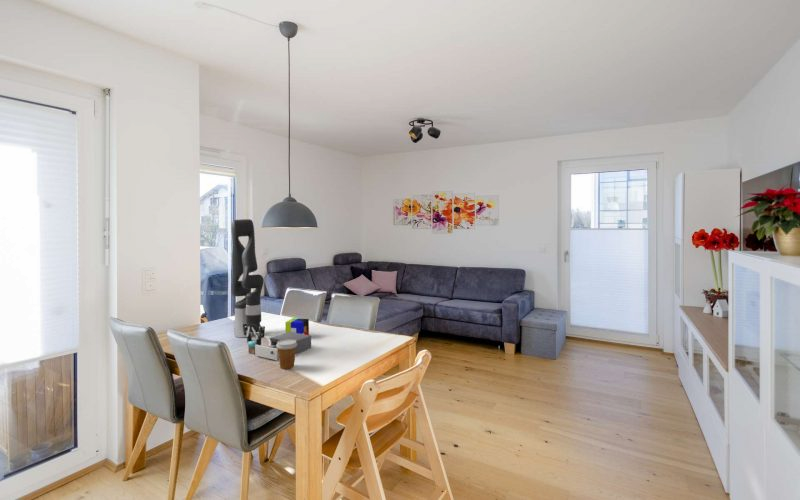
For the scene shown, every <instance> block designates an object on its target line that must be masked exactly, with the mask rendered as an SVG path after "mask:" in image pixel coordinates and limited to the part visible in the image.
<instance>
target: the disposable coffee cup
mask: <svg viewBox="0 0 800 500" xmlns="http://www.w3.org/2000/svg"><path fill="white" fill-rule="evenodd" d="M276 346H277V349H278V356H279V358H278V361H279V369H281V370H291V369H293V368H295V360H296V355H295V353H296V346H297V343H296V340H292V339H286V340H281V341H278V342H277V345H276Z"/></svg>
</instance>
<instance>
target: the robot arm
mask: <svg viewBox="0 0 800 500" xmlns="http://www.w3.org/2000/svg"><path fill="white" fill-rule="evenodd" d="M230 227H231V242H232V243H231V245H232V249H231V250H232V251H231V252H232V253H231V268H232V271H231V273H232V274H231V288H230V289H231V295H232V297H244V298H242V299H240V300H238V301H237V302H235V303H234V320H233V335H234V337H235V338H246V343H247V345H248V341H250V340H253V337H252V335H254V336H255V338H256V339H255V340H256V341H257V345H261V346H262V339H263V338H265V335H266V334H265V332H266V326H265V325H261V322H262V306H261V294H262V290H263V286H264V280H265V279H264V277H263V275H262V274H259V273H258V274H250V273H254V272H256V271H257V270H258V269H259V268H258V262H257V257H256V238H255V225H254V222H253V220H252V219H249V218H247V219H243V218H242V219H234V220H232V221H231V226H230ZM240 237H248V239H247V240H248V241H247V244H246V246H244V245H243V244H242V242H241V241H240V239H239V238H240ZM241 276H242V279H241V280H240V278H241ZM252 289H254V291H252Z"/></svg>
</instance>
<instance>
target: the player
mask: <svg viewBox="0 0 800 500" xmlns="http://www.w3.org/2000/svg"><path fill="white" fill-rule="evenodd" d="M286 339H292V340H296V343H297V346H296V353H295V356H296V355H299V354H301V353H304V352H306V351H308V350H311V349H312V335H310V334H309V335H305V334H299V333H293V332H287V333H286V332H284V333H282V334H278V335H275V336H272V337H269V341H270V346H272V345H275V344H277V342H278V341H281V340H286Z"/></svg>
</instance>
